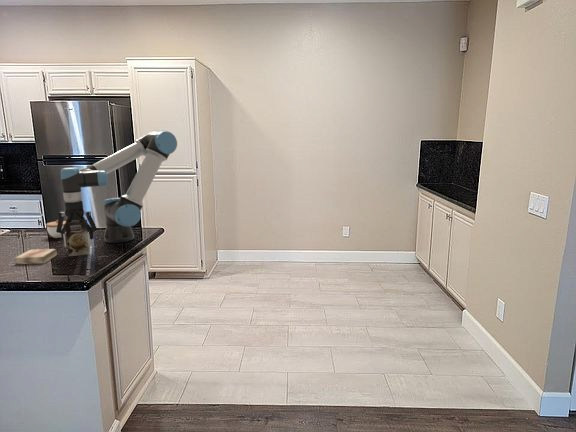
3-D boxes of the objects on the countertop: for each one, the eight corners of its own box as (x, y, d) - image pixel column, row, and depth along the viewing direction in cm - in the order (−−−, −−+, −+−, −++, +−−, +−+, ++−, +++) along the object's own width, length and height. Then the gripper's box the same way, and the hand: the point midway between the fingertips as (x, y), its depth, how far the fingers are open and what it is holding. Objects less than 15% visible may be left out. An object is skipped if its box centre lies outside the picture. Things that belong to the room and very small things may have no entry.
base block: (57, 254, 184) (56, 248, 183) (44, 263, 172) (43, 256, 172) (30, 255, 183) (29, 249, 182) (15, 264, 171) (14, 257, 171)
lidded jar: (51, 234, 220) (49, 218, 218) (72, 233, 223) (70, 217, 221) (45, 239, 210) (42, 222, 208) (67, 238, 213) (64, 221, 211)
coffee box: (68, 256, 181) (64, 223, 178) (69, 252, 187) (65, 220, 184) (89, 254, 185) (86, 221, 181) (90, 250, 191) (87, 219, 187)
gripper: (43, 202, 176) (50, 249, 180) (95, 201, 178) (100, 247, 183) (51, 199, 183) (57, 244, 188) (101, 199, 185) (106, 243, 190)
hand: (78, 246), depth 185 cm, fingers closed on coffee box, 10 cm apart
